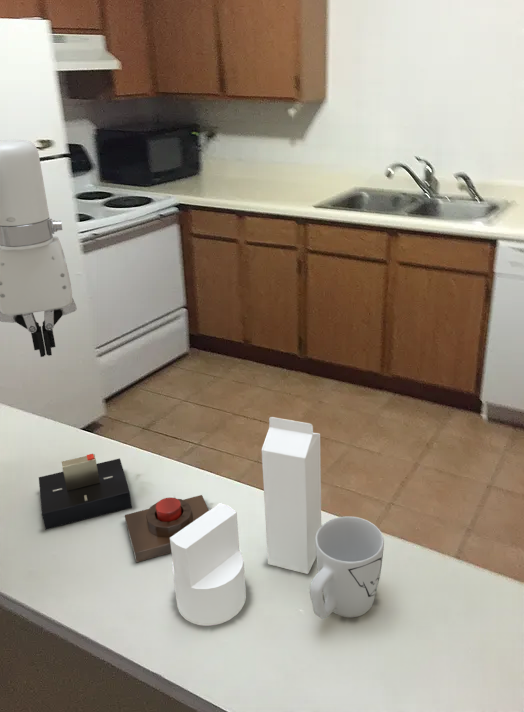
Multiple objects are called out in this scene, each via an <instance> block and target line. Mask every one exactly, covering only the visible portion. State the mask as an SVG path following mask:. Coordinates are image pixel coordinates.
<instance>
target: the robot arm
mask: <svg viewBox="0 0 524 712" xmlns="http://www.w3.org/2000/svg"><path fill="white" fill-rule="evenodd" d="M58 231H63V225H62V220H55V219H54V220H53V219H52V218H50V212H49V206H48V199H47V195H46V188H45V183H44V176H43V170H42V165H41V159H40V154H39V150H38V148H37V146H36V145H35V144H34V143H33V142H32V141H31V140H27V139H16V138H15V139H14V138H13V139H1V140H0V322H1V323H13V324H16V323H17V324H18V325H19V326H20V327H22V328H23V329H25V330H27V331H28V332H29V333H30V335H31V339H32V344H33V350H34V351H38V352H39V356H40V358H42V357H43V358H45V356H49V357H51V356H53V355H52V349H53V348H56V342H55V335H54V327H55V325H56V324H57V323H58V322H59V320H60V319H61V318H62V317H63V316H66V315H69V314H71V313H74V312H76V311H77V304H76V301H75V300H74V297H73V290H72V283H71V279H70V274H69V269H68V265H67V260H66V256H65V252H64V248H63V245H62V244H61V241H60V239H59V237H58V236H56V235H55V233H57V232H58ZM39 312H43V313H44V314H43V315H44V320H43V321H42V325H40V324H39V322H37V320H36V317H35V314H34V313H39Z"/></svg>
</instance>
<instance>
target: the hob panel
mask: <svg viewBox="0 0 524 712" xmlns="http://www.w3.org/2000/svg"><path fill="white" fill-rule="evenodd" d="M96 464H97V469H98V475H99V481H100V483H97V484H93V485H89V486H85V487H81V488H77V489H73V490H69V491H67V487H66V482H65V477H64V473H63V471H59V472H55V473H50V474H47V475H42V476H39V477H38V485H39V486H38V487H39V496H40V507H41V516H42V521H43V525H44V529H45V531H47V530H51V529H55V528H57V527H62V526H67V525H70V524H73V523H77V522H81V521H85V520H89V519H93V518H96V517H101V516H105V515H108V514H113V513H117V512H120V511H124V510H127V509H132V508H133V504H132V498H131V492H130V488H129V485H128V481H127V478H126V474H125V470H124V468H123V464H122V461H121V458H115V459H111V460H107V461H102V462H98V463H96Z"/></svg>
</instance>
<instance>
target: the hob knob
mask: <svg viewBox="0 0 524 712" xmlns="http://www.w3.org/2000/svg"><path fill="white" fill-rule="evenodd" d="M97 464H98V463H97V458H96V455H95V453H89V454H86V455H84V456H79V457H75V458H71V459H67V460H62V461H61V466H62V472H63V473H64V477H65V482H66V487H67V491H69V490H73V489H77V488H81V487H85V486H89V485H93V484H97V483H100V481H99V475H98V469H97Z"/></svg>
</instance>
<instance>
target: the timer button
mask: <svg viewBox="0 0 524 712" xmlns="http://www.w3.org/2000/svg"><path fill="white" fill-rule="evenodd" d="M178 499H179V498H176V497H165V498H161V499H160V500H158V501H157V502H158V503H157V502H156V503H157V504H156V503H155V504H156V513H157V518H158V520H160V521H161V522H171V521H174V520H177V519H178V518H180V516H181V514H182V511H181V503H180V501H179V500H178Z"/></svg>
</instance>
